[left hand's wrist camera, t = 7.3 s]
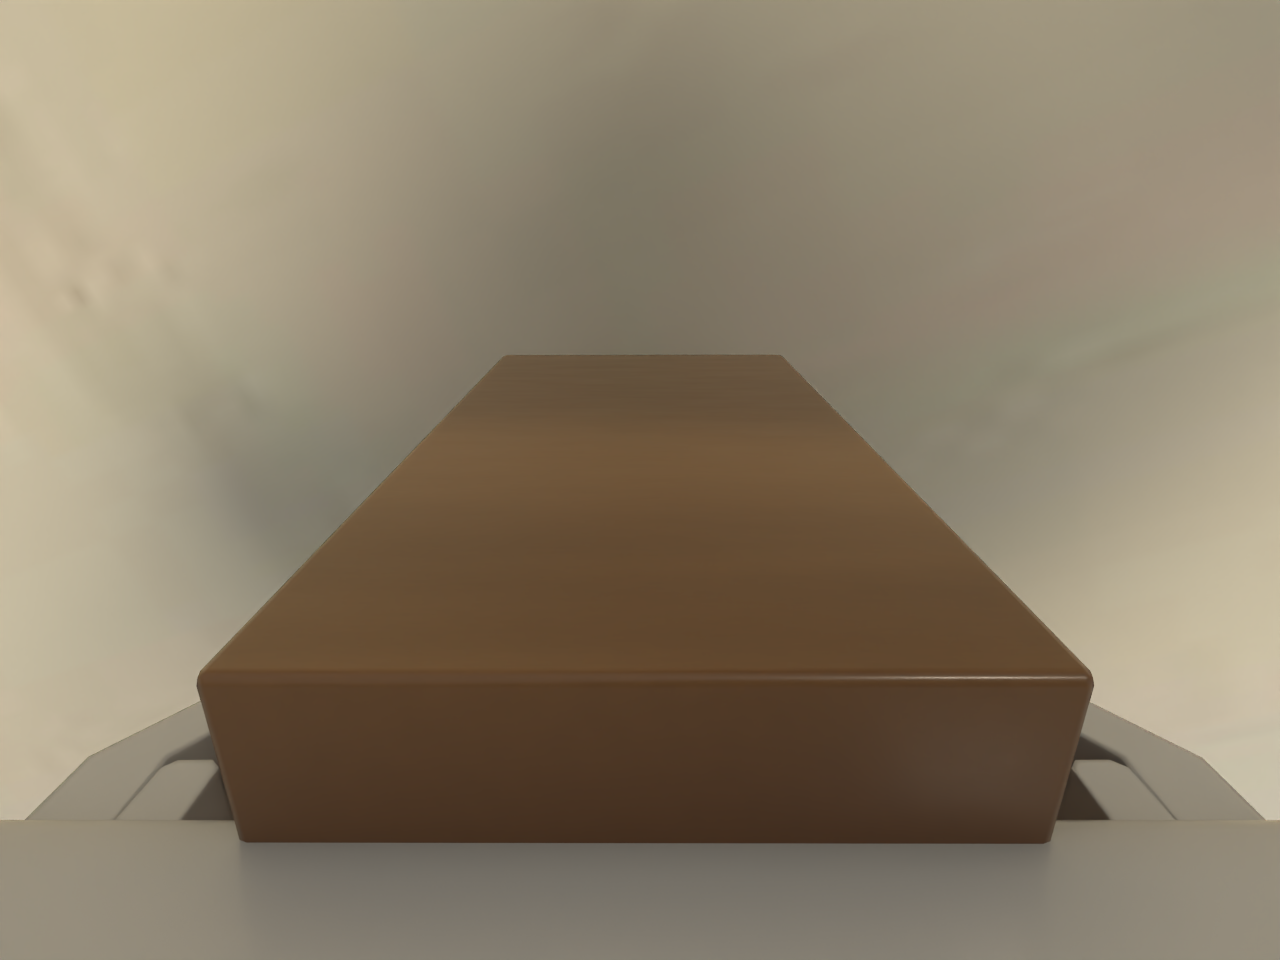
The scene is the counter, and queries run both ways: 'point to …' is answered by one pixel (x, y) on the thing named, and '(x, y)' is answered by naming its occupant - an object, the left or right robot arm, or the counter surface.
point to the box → (644, 636)
